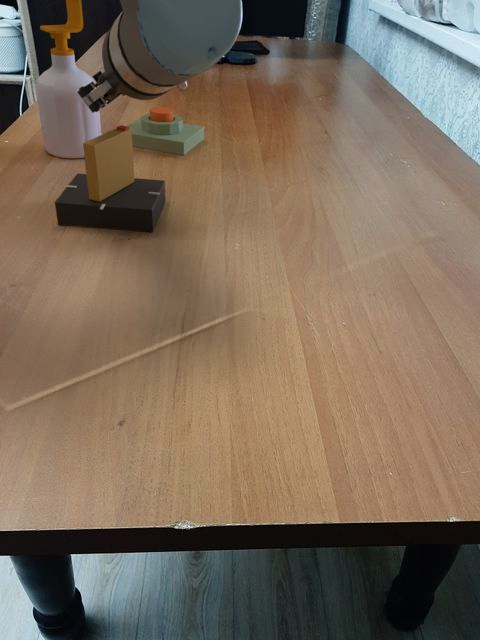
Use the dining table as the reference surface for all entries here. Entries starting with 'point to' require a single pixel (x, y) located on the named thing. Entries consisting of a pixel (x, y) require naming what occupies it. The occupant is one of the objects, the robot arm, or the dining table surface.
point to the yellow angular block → (109, 163)
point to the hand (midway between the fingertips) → (105, 91)
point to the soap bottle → (65, 94)
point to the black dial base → (112, 206)
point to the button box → (165, 135)
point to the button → (161, 114)
